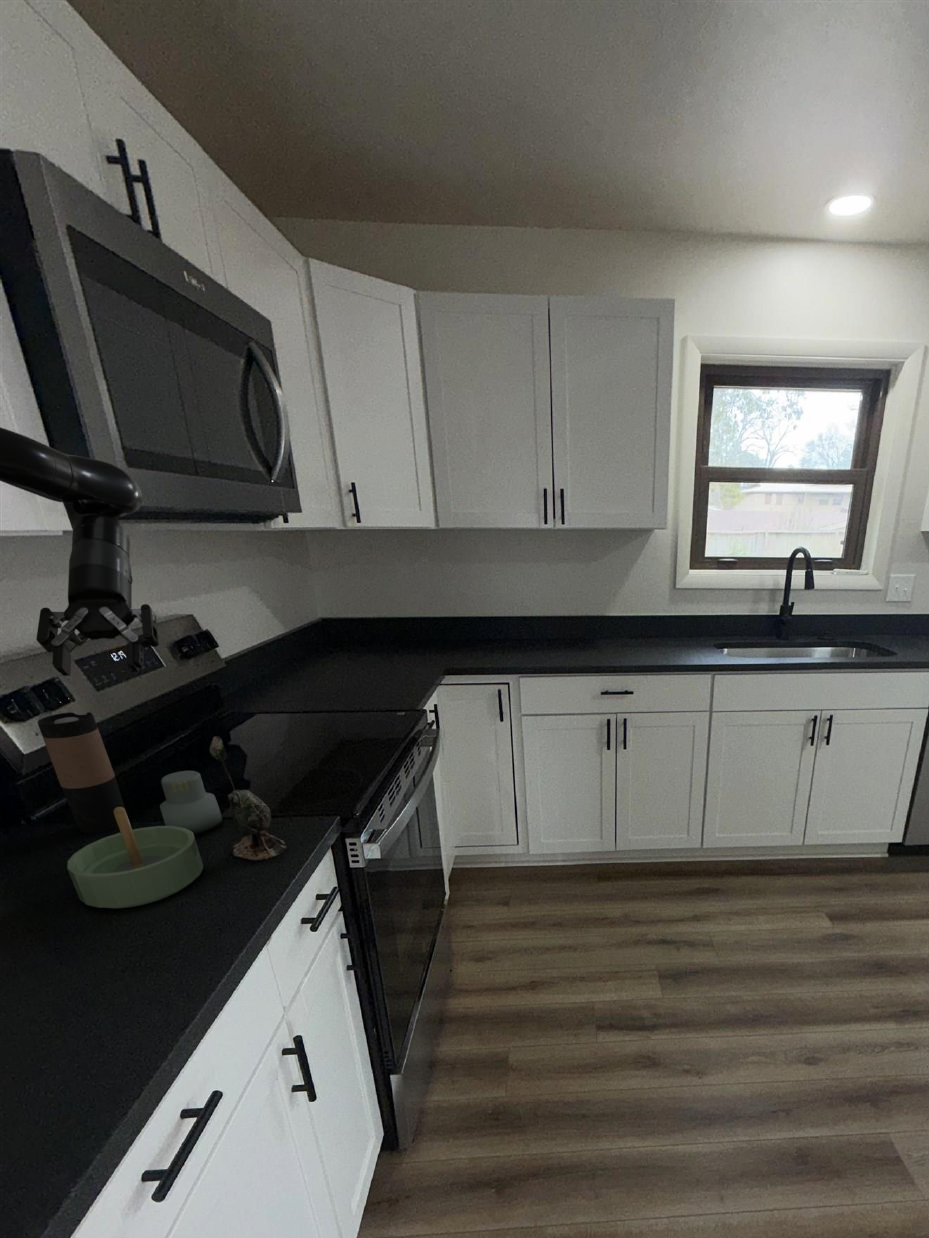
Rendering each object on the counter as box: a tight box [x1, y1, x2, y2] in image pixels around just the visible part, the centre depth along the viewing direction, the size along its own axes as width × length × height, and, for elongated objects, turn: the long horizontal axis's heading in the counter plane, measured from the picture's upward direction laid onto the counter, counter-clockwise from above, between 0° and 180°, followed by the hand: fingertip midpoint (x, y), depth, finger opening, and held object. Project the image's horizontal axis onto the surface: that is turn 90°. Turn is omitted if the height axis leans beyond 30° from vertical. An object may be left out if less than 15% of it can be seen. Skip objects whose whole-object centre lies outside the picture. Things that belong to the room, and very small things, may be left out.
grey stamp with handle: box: [114, 807, 162, 872], centre depth 96 cm, size 6×6×12 cm
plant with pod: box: [209, 735, 288, 862], centre depth 103 cm, size 8×11×20 cm
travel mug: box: [37, 711, 126, 834], centre depth 113 cm, size 8×8×20 cm
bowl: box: [66, 825, 204, 909], centre depth 97 cm, size 16×16×6 cm
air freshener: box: [159, 770, 223, 835], centre depth 113 cm, size 11×8×10 cm
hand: (99, 670), depth 93 cm, fingers open, 8 cm apart
